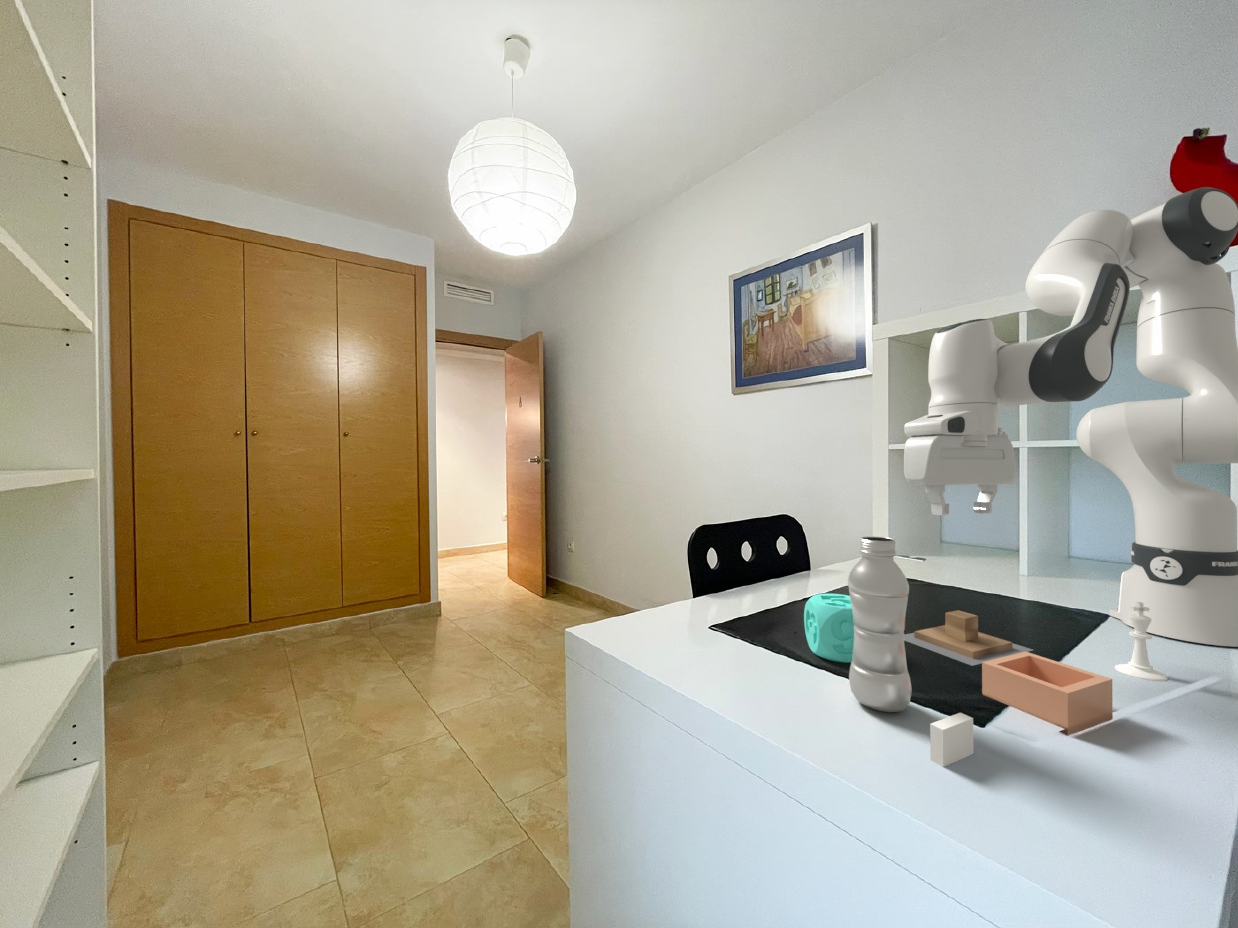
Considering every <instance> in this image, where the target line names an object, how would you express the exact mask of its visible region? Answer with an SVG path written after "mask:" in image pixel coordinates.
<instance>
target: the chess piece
mask: <svg viewBox="0 0 1238 928" xmlns="http://www.w3.org/2000/svg"><path fill="white" fill-rule="evenodd" d="M1131 610H1134V611H1137V614H1133V615H1130V616H1129V618H1130V620H1131V622H1132V624H1133V627H1132V628H1133V629H1134V630H1133V631H1132V630H1131V631H1129V632H1128V636H1131V637H1133V638H1134V644H1133V651H1132V656H1131V660H1130V661H1127V663H1120V664H1116V665H1115V666H1114V669H1115V670H1116V671H1117V672H1119V673H1122V674H1124V675H1126V676H1129V677H1132V678H1136V679H1140V680H1147V681H1150V682H1151V681H1152V682H1166V681H1168V680H1169V679H1168V676H1167V675H1165V674H1164V673H1162V672H1160V671H1158V670H1156V669H1154V666H1153V665H1151V663H1150V660H1149V655H1148V648H1147V641H1146V640H1151V639H1153V636H1152V635H1151V634H1149V633H1148V632H1146V630H1147V629H1148V626H1149V624H1150V623H1151V618H1149V617H1147V616H1145V615H1144V611H1149V608H1148V607H1144V603H1142V602H1137V607H1134V606H1131Z"/></svg>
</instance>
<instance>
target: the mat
mask: <svg viewBox="0 0 1238 928" xmlns="http://www.w3.org/2000/svg"><path fill="white" fill-rule="evenodd" d="M904 634H905V633H904ZM904 642H907V643H910V644H912V645H914V646H918V647H920V648H923V649H926V650H929V651H931V652H934V653H937V654H939V655H942V656H944V657H947V658H950V659H953V660H955V661H958V662H961V663H963V664H966V665H969V666H971V667H973V666H977V665H982V662H985V661H989V660H993V659H997V658H1001V657H1005V656H1009V655H1013V654H1017V653H1021V652H1029V653H1031V652H1034V651H1035V649H1032V648H1030V647H1026V646H1023V645H1019V644H1016V643H1013V642H1012V649H1010V650H1006V651H1002V652H998V653H994V654H990V655H986V656H982V657H978V658H974V659H972V658H970V657H967V656H964V655H961V654H959V653H956V652H953V651H950V650H948V649H945V648H942V647H939V646H936V645H934V644H931V643H928V642H925V641H923V640H920V639H917V638H914V632H912V633H911V632H910V633H906V634H905V635H904Z"/></svg>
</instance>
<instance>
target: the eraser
mask: <svg viewBox="0 0 1238 928" xmlns="http://www.w3.org/2000/svg"><path fill="white" fill-rule="evenodd" d="M929 726H930V727H929V728H930V729H929V731H930V732H929V733H930V736H929V737H930V739H929V740H930V741H929V742H930V746H929V747H930V749H929V750H930V761H931V762H933V763H935V764H937V765H938V766H941V767H943V768H944V767H946V766H949V765H950V764H951V765H952V764H953V763H955V762H958V761H961V760H963V759H965V758H967V757H969V756H971V755H974V717H971V716H969V715H967V714H964V713H963V712H958V713H956V714H952V715H950V716H947V717H945V718H941V719H939V720H937V721H933V722H931V723H929Z"/></svg>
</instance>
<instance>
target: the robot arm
mask: <svg viewBox="0 0 1238 928" xmlns="http://www.w3.org/2000/svg"><path fill="white" fill-rule="evenodd" d="M1237 234H1238V203H1237V201H1236V200H1235V199H1234V197H1232V196H1231V195H1230V194H1229V193H1228V192H1226V191H1224V190H1222V189H1219V188H1215V187H1210V186H1203V187H1200V188H1195V189H1192V190H1189V191H1186V192H1183V193H1182V194H1181V193H1180V194H1179V195H1176V196H1174V197H1171V198H1170V199H1169V200H1167V202H1166V203H1162V204H1161V205H1158V206H1156V207H1153V208H1151V209H1149V210H1147V211H1145V212H1144V213H1142V214H1141V213H1140V215H1137V216H1135V217H1133V218H1131V219H1130V218H1129V216H1127V215H1126V214H1124V213H1123V212H1120V211H1117V210H1113V209H1099V210H1093V211H1089V212H1087V213H1084V214H1082V215H1080V216H1077V218H1075V219H1073V220H1072V221H1071V222H1070V223H1069V224H1068V225H1066V226H1065V227H1064V228H1063V229H1062V230H1061V231H1060V232H1059V233H1057V235H1056V236H1055V237H1054V238H1053V239H1052V240H1051V241H1050V243H1049V244H1048V245H1047V246H1046V248H1045V249H1044V250H1043V251H1042V252H1041V254H1040V256H1039V257H1038V258H1037V260H1036V261H1035V262H1034V264H1033V265H1032V268H1031V269H1030V270H1029V273H1028V274H1027V277H1026V281H1025V285H1024V286H1025V287H1024V288H1025V289H1024V290H1025V293H1026V296H1027V298H1028V300H1029V301H1030V303H1031V304H1032V305H1033V306H1035V308H1037V309H1039V310H1041V311H1042V312H1045V313H1046V314H1051V315H1053V316H1058V317H1059V316H1061V317H1069V316H1073V317H1072V320H1071V323H1070V325H1069V326H1068V327H1066V328H1064V329H1062V330H1060V331H1058V332H1055V333H1052V334H1050V335H1046V336H1043V337H1039V338H1035V339H1031V340H1026V341H1021V342H1017V343H1012V344H1009V343H1007V342H1004V341H1002V340H1001V339H1000V338H999V337H997V336H996V334H995V328H994V324H993V322H992V320H991V319H986V318H975V319H970V320H967V321H962V322H957V323H954V324H951V325H947V326H944V327H942V328H940V329H939V330H937V331H936V332H935V333H934V335H933V337H932V339H931V343H930V347H929V356H928V367H927V368H928V369H927V372H928V373H927V376H928V377H927V380H928V381H927V382H928V385H929V388H930V393H931V394H930V399H929V402H928V407H927V409H928V410H927V414H925V415H924V416H921V417H919V418H917V419H913V420H911V421H908V422H906V423H905V424H904V426H903V430H904V435H905V436H906V437H909V438H907V439H906V441H905V445H904V450H903V451H904V452H903V474H904V478H905V479H906V481H907V483H908V484H909V485H913V486H915V485H916V486H919V485H920V486H922V485H923V486H925V489H924V491H925V494H926V497H927V499H928V500H929V502H930V503H931V504H930V505H931V506H930V507H931V508H930V509H931V515H933V516H949V514H950V503H946V500H945V498H944V496H943V495H944V494H943V493H945V492H946V490H945V489H946V488H945V487H946V486H952V485H954V486H960V485H963V486H965V485H967V486H969V485H971V486H972V485H973V486H975V485H977V492H979V494H978V498H977V500H976V501H974V502H973V512H974V513H976V514H990V513H992V509H993V507H992V503H993V501H994V499H995V497H996V495H997V493H998V485H1011V484H1013V483H1014V482H1015V479H1016V476H1017V471H1016V469H1017V468H1016V459H1015V458H1016V457H1015V451H1014V446H1013V443H1012V441H1011V439H1009V436H1008V434H1007V433H1006V432H1005V431H1004V429H1003V428H1001V427H999V419H998V417H999V416H998V415H999V413H998V412H999V411H998V410H999V408H1002V407H1003V408H1004V407H1012V406H1014V407H1015V406H1023V405H1032V404H1033V405H1035V404H1043V403H1063V402H1066V403H1067V402H1082V401H1086V400H1088V399H1089V398H1091V397H1092V396H1094V395H1095V394H1096V393H1098V392H1099V391H1100V389H1102V387H1103V386H1105V385H1106V383H1107V382H1108V381H1109V379H1110V378H1111V375H1112V372H1113V368H1114V349H1115V344H1116V342H1117V338H1118V334H1119V331H1120V328H1121V325H1122V322H1123V319H1124V318H1123V317H1124V316H1125V311H1126V309H1127V305H1128V301H1129V297H1130V289H1131V288H1134V287H1136V286H1137V287H1139V289H1140V291H1141V293H1142V296H1141V300H1140V304H1139V309H1138V313H1137V322H1136V323H1137V324H1136V351H1135V352H1136V353H1135V354H1136V355H1135V365H1136V369H1137V370H1138V372H1139V373H1140V374H1141V375H1143V377H1145V378H1147V379H1150V380H1152V381H1153V382H1157V383H1160V384H1164V385H1169V386H1173V387H1177V388H1180V389H1182V390H1184V391H1185V392H1187V393H1188V394H1190V395H1188V396H1183V397H1179V398H1178V397H1177V398H1174V397H1173V398H1162V399H1148V400H1136V401H1134V400H1133V401H1124V402H1120V403H1114V404H1108V405H1104V406H1100V407H1095V408H1091V410H1089V411H1087V412H1086V413H1085V414H1084V416H1083V417H1081V419H1080V421H1079V422H1078V425H1077V427H1076V432H1075V433H1076V435H1075V437H1076V442H1077V444H1078V446H1079V449H1081V451H1082V453H1084V454H1085V455H1086V456H1087V457H1088V458H1090V459H1092V460H1093V461H1095V462H1097V463H1099V464H1101V465H1102V466H1104V467H1105V468H1107V469H1108V470H1109V471H1111V472H1112V473H1113V474H1114V475H1115V476H1116V477H1117V478H1118V479H1119V480H1120V481H1121V483H1122V484H1123V485H1124V486H1125V488H1126V490H1127V492H1128V494H1129V497H1130V499H1131V503H1132V509H1133V518H1134V535H1135V536H1134V538H1135V541H1134V542H1132V543H1131V549H1130V555H1131V557H1130V558H1131V562H1132V564H1133V565H1132V566H1131V567H1130V568H1129V569H1126V570H1125V571H1122V573H1121V576H1120V578H1121V579H1120V586H1119V587H1120V588H1119V599H1118V607H1117V608H1110V609H1109V611H1108V615H1109V616H1110V617H1113V618H1116V619H1118V620H1120V621H1121V622H1122V623H1123V624H1125V625H1127V626H1129V627H1130V628H1131V627H1132V628H1134V627H1133V624H1132V622H1131V620H1130V618H1129V616H1130V615H1133V614H1137V611H1134V610H1131V606H1134V607H1137V602H1142V603H1144V607H1148V608H1149V611H1144V615H1145V616H1147V617H1149V618H1151V623H1150V624H1149V626H1148V629H1147V630H1146V633H1148V634H1149V633H1150V634H1153V635H1157V636H1162V637H1165V638H1166V637H1167V638H1171V639H1175V640H1180V641H1185V642H1189V643H1190V642H1191V643H1195V644H1196V643H1197V644H1204V645H1211V646H1212V645H1213V646H1220V647H1234V648H1236V647H1237V648H1238V507H1237V505H1236V503H1235V502H1234V501H1233V500H1232V499H1231V498H1230V497H1229V496H1227V495H1226V494H1225V493H1223V492H1220V491H1218V490H1215V489H1213V488H1209V486H1208V487H1207V486H1205V485H1202V484H1199V483H1195V482H1192V481H1189V480H1187V479H1184V478H1182V477H1181V476H1180V475H1179V474H1178V473H1177V472H1176V467H1177V466H1178V465H1183V464H1238V342H1237V340H1238V339H1237V331H1236V330H1237V329H1236V310H1235V308H1236V307H1235V301H1234V295H1233V290H1232V287H1231V284H1230V281H1229V278H1228V275H1227V273H1226V271H1225V269H1224V267H1222V266H1221V265H1220V264H1218V262H1220V260H1222V259H1223V258H1224V257H1225V256H1226V255H1227V254H1228V252H1229V250H1230V246H1231V243H1232V242H1233V241H1234V240H1235V238H1236V235H1237Z"/></svg>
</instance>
